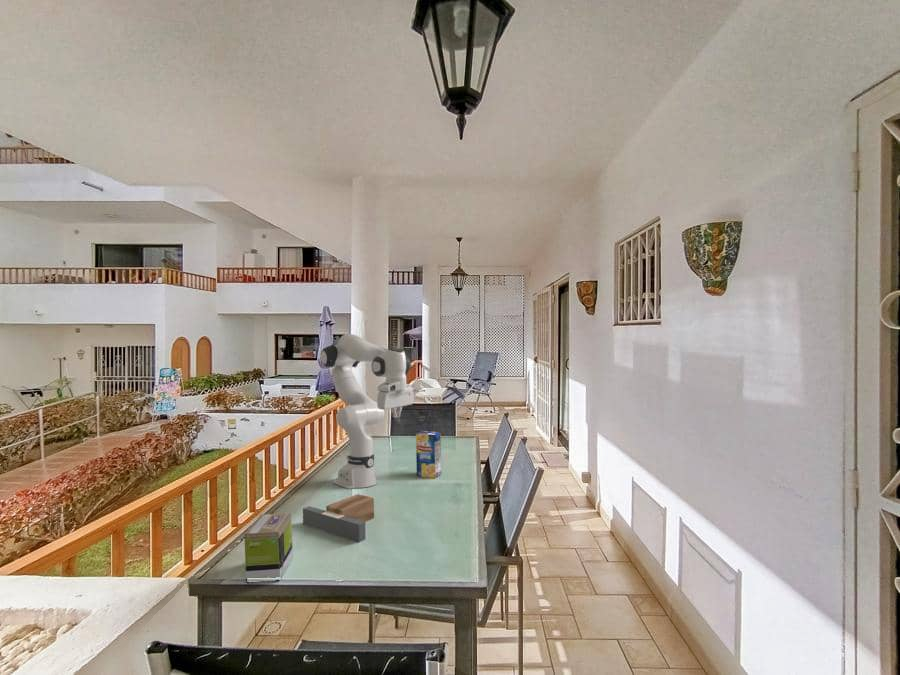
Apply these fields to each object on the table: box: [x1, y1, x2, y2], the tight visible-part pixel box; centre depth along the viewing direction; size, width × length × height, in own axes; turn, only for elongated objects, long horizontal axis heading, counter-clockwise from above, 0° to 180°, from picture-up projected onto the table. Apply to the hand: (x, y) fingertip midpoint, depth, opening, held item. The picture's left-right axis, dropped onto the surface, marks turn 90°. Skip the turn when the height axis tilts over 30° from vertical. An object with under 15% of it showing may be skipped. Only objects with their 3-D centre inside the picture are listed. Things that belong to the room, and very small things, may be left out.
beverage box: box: [415, 430, 442, 479], centre depth 237 cm, size 7×11×22 cm, turn 63°
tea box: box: [244, 512, 294, 579], centre depth 140 cm, size 15×10×15 cm, turn 5°
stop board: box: [302, 505, 367, 543], centre depth 168 cm, size 30×3×6 cm, turn 56°
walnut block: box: [325, 493, 375, 523], centre depth 176 cm, size 9×16×8 cm, turn 145°
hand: (396, 417), depth 199 cm, fingers closed
